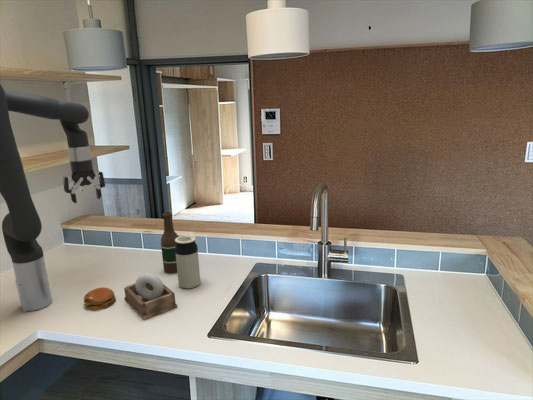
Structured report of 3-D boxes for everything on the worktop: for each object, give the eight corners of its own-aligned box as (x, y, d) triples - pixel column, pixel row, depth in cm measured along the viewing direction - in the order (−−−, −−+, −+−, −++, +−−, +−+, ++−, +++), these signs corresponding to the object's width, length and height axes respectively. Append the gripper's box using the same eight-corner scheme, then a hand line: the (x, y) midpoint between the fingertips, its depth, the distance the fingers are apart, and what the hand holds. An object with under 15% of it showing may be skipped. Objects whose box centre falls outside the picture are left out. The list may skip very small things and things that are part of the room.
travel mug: (185, 291, 146) (180, 244, 142) (174, 283, 152) (170, 238, 147) (204, 284, 151) (200, 238, 146) (193, 277, 157) (189, 233, 152)
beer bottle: (185, 265, 168) (180, 209, 161) (179, 274, 160) (173, 215, 154) (166, 265, 169) (161, 210, 162) (160, 273, 161) (153, 215, 155)
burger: (119, 296, 144) (117, 284, 143) (109, 310, 135) (107, 297, 134) (92, 297, 145) (90, 285, 143) (79, 311, 136) (77, 298, 134)
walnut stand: (143, 320, 129) (142, 305, 127) (124, 299, 142) (122, 286, 140) (177, 307, 135) (176, 293, 134) (156, 289, 149) (154, 276, 147)
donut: (135, 301, 138) (131, 274, 136) (140, 296, 141) (136, 270, 139) (162, 304, 136) (159, 276, 133) (166, 298, 139) (163, 272, 137)
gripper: (62, 162, 145) (69, 206, 149) (103, 157, 153) (109, 199, 157) (57, 160, 151) (64, 202, 155) (97, 155, 159) (103, 195, 163)
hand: (87, 200), depth 156 cm, fingers open, 8 cm apart
